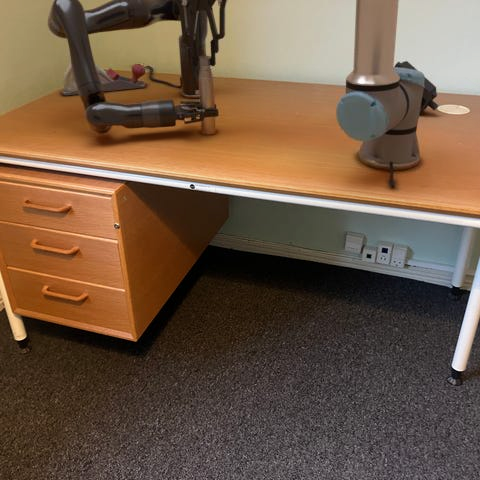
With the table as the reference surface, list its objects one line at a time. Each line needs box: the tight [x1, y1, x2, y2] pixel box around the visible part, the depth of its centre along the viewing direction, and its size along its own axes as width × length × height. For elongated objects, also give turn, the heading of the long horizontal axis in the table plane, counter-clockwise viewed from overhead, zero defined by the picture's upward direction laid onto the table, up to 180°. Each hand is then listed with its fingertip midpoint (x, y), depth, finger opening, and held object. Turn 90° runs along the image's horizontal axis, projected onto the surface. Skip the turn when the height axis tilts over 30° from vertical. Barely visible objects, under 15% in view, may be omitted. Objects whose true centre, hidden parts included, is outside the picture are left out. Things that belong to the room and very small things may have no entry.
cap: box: [197, 55, 212, 67], centre depth 147 cm, size 4×4×2 cm
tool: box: [394, 60, 439, 113], centre depth 169 cm, size 6×19×15 cm, turn 51°
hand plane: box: [61, 62, 146, 96], centre depth 194 cm, size 7×31×15 cm, turn 107°
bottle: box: [199, 66, 217, 136], centre depth 153 cm, size 4×4×21 cm
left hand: (216, 109), depth 155 cm, fingers closed on bottle, 4 cm apart
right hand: (205, 64), depth 148 cm, fingers closed on cap, 4 cm apart
